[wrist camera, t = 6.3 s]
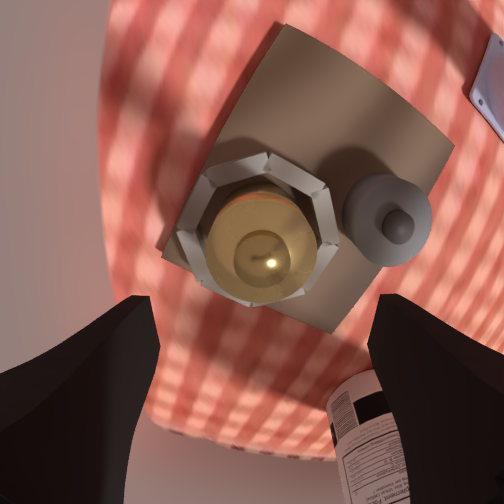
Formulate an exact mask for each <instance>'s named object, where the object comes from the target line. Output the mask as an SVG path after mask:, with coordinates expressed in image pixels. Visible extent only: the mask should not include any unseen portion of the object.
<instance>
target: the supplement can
mask: <svg viewBox="0 0 504 504" xmlns="http://www.w3.org/2000/svg"><path fill="white" fill-rule="evenodd" d="M326 410H327V416H328V420H329V425H330V429H331V434H332V439H333V444H334V448H335V453H336V458H337V463H338V468H339V473H340V478H341V484H342V488H343V494H344V499H345V504H410V495H409V485H408V476H407V470H406V464H405V458H404V453H403V448H402V444H401V440H400V435H399V432H398V429H397V426H396V423H395V420H394V417H393V415H392V412H391V410H390V407H389V405H388V402H387V400H386V398H385V395H384V393H383V390H382V388H381V385H380V383H379V381H378V378H377V376H376V373H375V371H374V369H372V370H366V371H364V372H361V373H359V374H356V375H354V376H352V377H351V378H349V379H348V380H346V381H345V382H343V383H342V384H341V385H340V386H339V387H338V388H337V389H336V390H335V391H334V393H333V394H332V395H331V396H330V397H329V400H328V402H327V405H326Z"/></svg>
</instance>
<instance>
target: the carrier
mask: <svg viewBox="0 0 504 504" xmlns="http://www.w3.org/2000/svg"><path fill="white" fill-rule="evenodd" d="M454 147H455V145H454V144H453V143H452V142H451V141H450V140H449V139H448V138H447V137H446V136H445V135H444V134H443V133H442V132H441V131H440V130H439V129H438V128H437V127H436V126H434V125H433V124H432V123H431V122H430V121H429V120H428V119H427V118H426V117H425V116H424V115H422V114H421V113H420V112H419V111H418V110H417V109H416V108H414V107H413V106H412V105H411V104H410V103H409V102H407V101H406V100H405V99H404V98H402V97H401V96H400V95H399V94H397V93H396V92H395V91H394V90H392V89H391V88H390V87H388V86H387V85H386V84H385V83H383V82H382V81H381V80H379V79H378V78H376V77H375V76H374V75H372V74H371V73H369V72H368V71H367V70H365V69H364V68H362V67H361V66H359V65H358V64H356V63H355V62H353V61H352V60H350V59H349V58H347V57H345V56H344V55H342V54H341V53H339V52H337V51H336V50H334V49H333V48H331V47H329V46H327V45H326V44H324V43H322V42H321V41H319V40H317V39H315V38H313V37H312V36H310V35H308V34H306V33H304V32H302V31H300V30H298V29H296V28H294V27H292V26H290V25H288V24H285V25H284V27H283V28H282V30H281V31H280V33H279V34H278V36H277V38H276V39H275V41H274V42H273V44H272V45H271V47H270V48H269V50H268V51H267V53H266V55H265V56H264V58H263V59H262V61H261V63H260V64H259V66H258V68H257V69H256V71H255V72H254V74H253V76H252V77H251V79H250V81H249V82H248V84H247V86H246V88H245V89H244V91H243V93H242V94H241V96H240V98H239V100H238V101H237V103H236V105H235V107H234V108H233V110H232V112H231V114H230V116H229V117H228V119H227V121H226V123H225V125H224V127H223V128H222V130H221V132H220V134H219V136H218V138H217V140H216V142H215V143H214V145H213V147H212V149H211V151H210V153H209V155H208V157H207V159H206V161H205V163H204V165H203V167H202V169H201V171H200V173H199V175H198V177H197V179H196V181H195V183H194V185H193V187H192V189H191V191H190V194H189V196H188V198H187V200H186V202H185V204H184V206H183V209H182V211H181V213H180V215H179V217H178V220H177V222H176V224H175V226H174V228H173V231H172V233H171V235H170V238H169V240H168V242H167V245H166V247H165V249H164V252H163V254H162V256H161V258H163V259H165V260H167V261H169V262H171V263H174V264H176V265H178V266H180V267H182V268H184V269H186V270H188V271H190V272H192V273H193V274H194V276H195V278H196V281H197V282H198V281H202V282H201V286H203V287H205V288H207V289H210V290H212V291H214V292H216V293H218V294H220V295H223V296H225V297H227V298H229V299H231V300H234V301H236V302H238V303H240V304H243V305H245V306H247V307H249V306H250V304H251V303H252V302H247V301H243V300H240V299H237V298H235V297H233V296H231V295H230V294H228V293H227V292H225V291H224V290H223V289H222V288H221V287H220V286H219V285H218V284H217V283H216V282H215V280H214V279H213V277H212V276H211V274H210V272H209V269H208V266H207V263H206V257H205V249H206V242H207V238H208V235H209V233H210V230H211V228H212V225H213V223H214V220H215V218H216V215H217V213H218V211H219V208H220V206H221V204H222V202H223V201H224V200H225V198H226V197H227V196H228V195H229V194H230V193H231V192H233V191H234V190H235V189H237V188H239V187H241V186H243V185H246V184H250V183H258V182H260V183H269V184H273V185H276V186H278V187H280V188H282V189H283V190H285V191H286V192H287V193H289V194H290V195H291V196H292V197H293V199H294V200H295V202H296V203H297V205H298V206H299V208H300V210H301V211H302V213H303V215H304V216H305V218H306V220H307V221H308V223H309V225H310V226H311V228H312V230H313V233H314V235H315V238H316V243H317V260H316V264H315V267H314V270H313V272H312V274H311V276H310V277H309V279H308V280H307V281H306V283H305V284H304V285H303V286H302V287H301V288H300V289H299V290H298V291H296V292H295V293H293V294H292V295H290V296H288V297H286V298H284V299H282V300H278V301H275V302H270V303H252V305H253V308H254V307H258V306H262V305H264V306H266V307H268V308H270V309H273V310H275V311H277V312H279V313H282V314H284V315H286V316H289V317H291V318H293V319H296V320H298V321H300V322H303V323H305V324H307V325H310V326H312V327H315V328H317V329H319V330H322V331H324V332H327V333H329V334H332V333H333V332H334V330H335V329H336V328H337V327H338V325H339V324H340V323H341V322H342V320H343V319H344V318H345V317H346V315H347V314H348V313H349V312H350V310H351V309H352V308H353V306H354V305H355V304H356V303H357V301H358V300H359V299H360V297H361V296H362V295H363V293H364V292H365V291H366V289H367V288H368V287H369V285H370V284H371V282H372V281H373V280H374V278H375V277H376V276H377V274H378V273H379V271H380V270H381V269H382V267H393V266H398V265H401V264H403V263H405V262H407V261H409V260H410V259H412V258H413V257H414V256H416V255H417V254H418V253H419V251H420V250H421V249H422V248H423V246H424V245H425V243H426V241H427V239H428V237H429V234H430V231H431V226H432V210H431V206H430V203H429V200H428V198H427V197H428V195H429V193H430V192H431V190H432V188H433V186H434V185H435V183H436V181H437V179H438V177H439V176H440V174H441V172H442V170H443V168H444V166H445V164H446V162H447V161H448V159H449V157H450V155H451V153H452V151H453V149H454Z"/></svg>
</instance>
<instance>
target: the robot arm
mask: <svg viewBox="0 0 504 504" xmlns="http://www.w3.org/2000/svg"><path fill="white" fill-rule="evenodd" d="M469 98H470V100H471V102H472V103H473V104H474V105H475V107H476V108H477V109H478V110H479V111H480V112H481V114H482V115H483V116H484V117H485V118H486V120H487V121H488V122H489V123H490V125H491V126H492V127H493V128H494V130H495V131H496V132H497V134H498V135H499V136H500V138H501V139H502V140H503V142H504V42H503V41H502V39H501V38H500V37H499V36H498V35H497V34H496V33H494V34H491V37H490V40H489V43H488V46H487V49H486V52H485V55H484V57H483V60H482V63H481V66H480V68H479V71H478V74H477V76H476V79H475V81H474V84H473V86H472V89H471V91H470V94H469ZM479 101H480V104H479ZM367 345H368V349H369V353H370V357H371V361H372V364H373V368H374V371H375V373H376V376H377V378H378V381H379V383H380V385H381V388H382V390H383V393H384V395H385V398H386V400H387V402H388V405H389V407H390V410H391V412H392V415H393V417H394V420H395V423H396V426H397V429H398V432H399V435H400V440H401V444H402V448H403V453H404V458H405V464H406V470H407V476H408V485H409V495H410V504H504V355H503V354H501V353H499V352H497V351H495V350H493V349H491V348H488V347H486V346H484V345H482V344H480V343H479V342H477V341H475V340H473V339H471V338H470V337H468V336H466V335H464V334H463V333H461V332H459V331H458V330H456V329H454V328H453V327H451V326H449V325H448V324H446V323H445V322H443V321H441V320H440V319H438V318H437V317H435V316H434V315H432V314H430V313H429V312H427V311H426V310H424V309H423V308H421V307H419V306H418V305H416V304H415V303H413V302H411V301H410V300H408V299H406V298H404V297H402V296H400V295H398V294H380V297H379V301H378V305H377V309H376V313H375V317H374V321H373V325H372V328H371V332H370V336H369V339H368V343H367ZM159 351H160V342H159V338H158V334H157V329H156V325H155V320H154V316H153V311H152V306H151V301H150V296H137V295H132V296H130V297H128V298H126V299H125V300H123V301H122V302H120V303H119V304H117V305H116V306H114V307H113V308H111V309H110V310H109V311H107V312H106V313H105V314H103V315H102V316H100V317H99V318H97V319H96V320H94V321H93V322H92V323H90V324H89V325H87V326H86V327H85V328H83V329H82V330H80V331H78V332H77V333H76V334H74V335H73V336H71V337H69V338H68V339H66V340H65V341H63V342H62V343H60V344H59V345H57V346H55V347H54V348H52V349H50V350H49V351H47V352H45V353H43V354H41V355H39V356H37V357H35V358H34V359H32V360H30V361H28V362H25V363H23V364H21V365H19V366H17V367H14V368H12V369H9V370H7V371H5V372H3V373H0V504H123V502H124V488H125V479H126V472H127V466H128V460H129V454H130V449H131V443H132V439H133V435H134V431H135V428H136V425H137V422H138V419H139V416H140V413H141V410H142V407H143V405H144V402H145V399H146V396H147V393H148V391H149V388H150V385H151V382H152V379H153V376H154V374H155V370H156V365H157V361H158V356H159Z"/></svg>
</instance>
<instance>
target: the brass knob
mask: <svg viewBox="0 0 504 504" xmlns="http://www.w3.org/2000/svg"><path fill="white" fill-rule="evenodd" d="M205 257H206V263H207V266H208V269H209V272H210V274H211V276H212V277H213V279H214V280H215V282H216V283H217V284H218V285H219V286H220V287H221V288H222V289H223V290H224V291H225V292H227V293H228V294H230V295H231V296H233V297H235V298H237V299H240V300H243V301H247V302H252V303H270V302H275V301H278V300H282V299H284V298H286V297H288V296H290V295H292V294H293V293H295V292H296V291H298V290H299V289H300V288H301V287H302V286H303V285H304V284H305V283H306V281H307V280H308V279H309V277H310V276H311V274H312V272H313V270H314V267H315V264H316V260H317V243H316V238H315V235H314V233H313V230H312V228H311V226H310V225H309V223H308V221H307V220H306V218H305V216H304V215H303V213H302V211H301V210H300V208H299V206H298V205H297V203H296V202H295V200H294V199H293V197H292V196H291V195H290V194H289V193H287V192H286V191H285V190H283V189H282V188H280V187H278V186H276V185H273V184H269V183H260V182H258V183H250V184H246V185H243V186H241V187H239V188H237V189H235V190H234V191H233V192H231V193H230V194H229V195H228V196H227V197H226V198H225V200H224V201H223V202H222V204H221V206H220V208H219V211H218V213H217V215H216V218H215V220H214V223H213V225H212V228H211V230H210V233H209V235H208V238H207V242H206V249H205Z"/></svg>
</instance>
